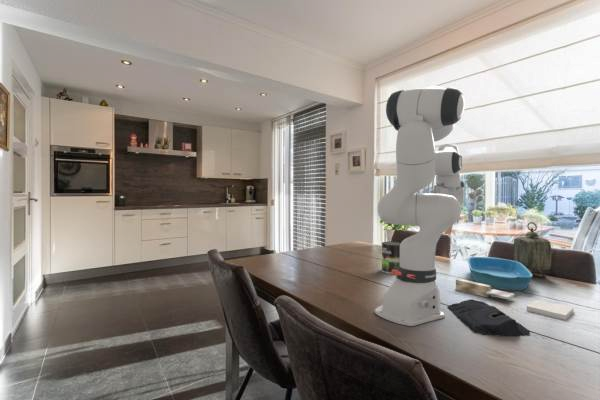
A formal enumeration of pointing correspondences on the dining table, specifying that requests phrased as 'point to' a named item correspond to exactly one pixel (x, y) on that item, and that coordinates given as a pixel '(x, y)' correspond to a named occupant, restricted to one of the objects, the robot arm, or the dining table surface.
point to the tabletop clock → (533, 251)
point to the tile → (550, 309)
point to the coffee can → (390, 256)
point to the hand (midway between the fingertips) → (447, 216)
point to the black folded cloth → (486, 319)
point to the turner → (481, 289)
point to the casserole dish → (499, 273)
